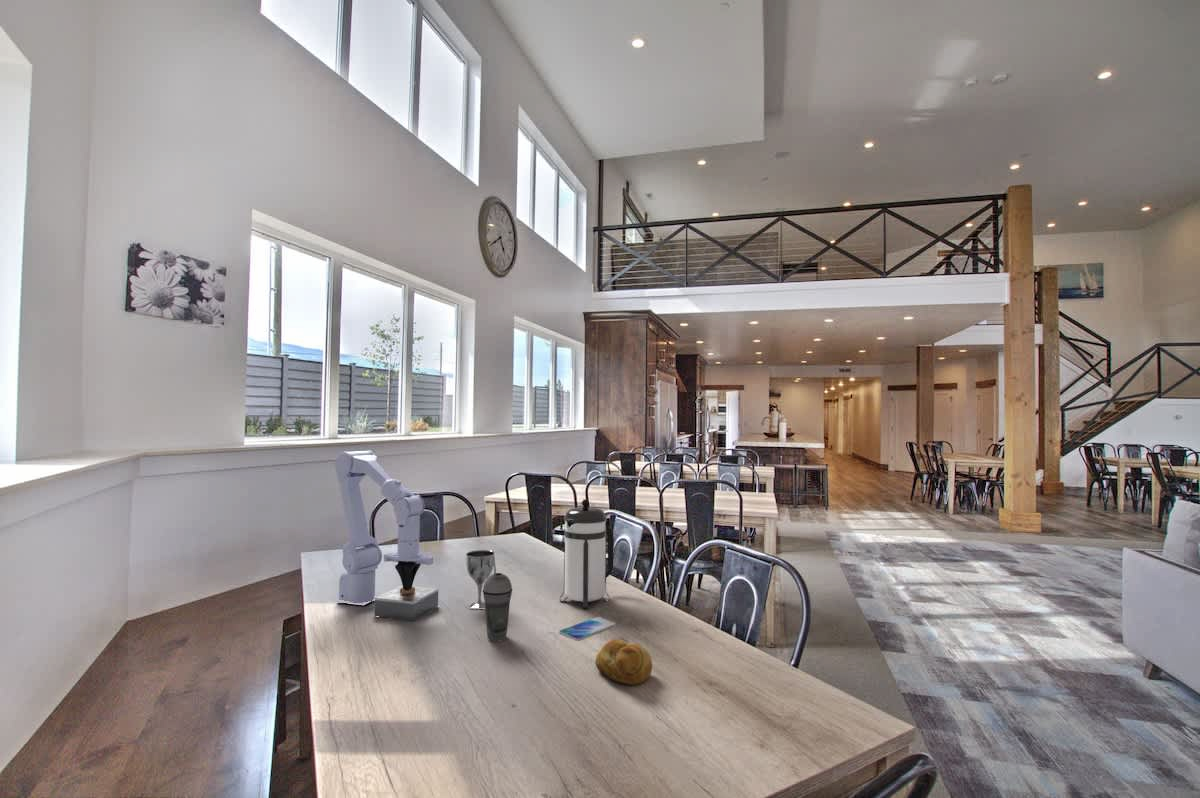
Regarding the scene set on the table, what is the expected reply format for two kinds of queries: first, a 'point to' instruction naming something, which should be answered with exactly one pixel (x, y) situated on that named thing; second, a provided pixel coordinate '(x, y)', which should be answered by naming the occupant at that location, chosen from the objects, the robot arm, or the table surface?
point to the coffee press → (586, 554)
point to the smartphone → (587, 628)
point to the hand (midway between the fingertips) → (407, 589)
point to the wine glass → (479, 570)
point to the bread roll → (624, 662)
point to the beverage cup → (497, 604)
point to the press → (406, 603)
